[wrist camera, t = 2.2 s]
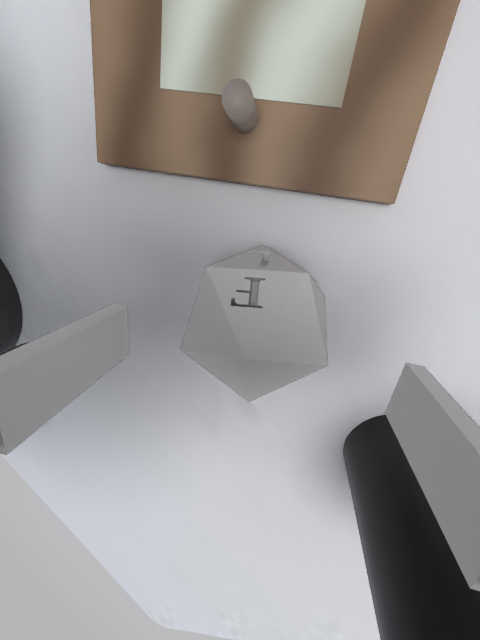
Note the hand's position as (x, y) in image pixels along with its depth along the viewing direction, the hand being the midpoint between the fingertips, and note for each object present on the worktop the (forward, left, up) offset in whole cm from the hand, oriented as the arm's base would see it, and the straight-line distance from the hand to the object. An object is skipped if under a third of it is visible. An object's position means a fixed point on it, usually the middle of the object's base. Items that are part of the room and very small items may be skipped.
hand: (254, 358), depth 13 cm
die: (0, 0, -10) cm, 10 cm away
